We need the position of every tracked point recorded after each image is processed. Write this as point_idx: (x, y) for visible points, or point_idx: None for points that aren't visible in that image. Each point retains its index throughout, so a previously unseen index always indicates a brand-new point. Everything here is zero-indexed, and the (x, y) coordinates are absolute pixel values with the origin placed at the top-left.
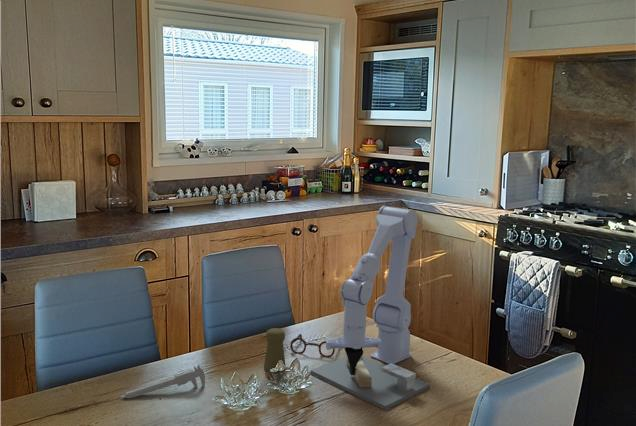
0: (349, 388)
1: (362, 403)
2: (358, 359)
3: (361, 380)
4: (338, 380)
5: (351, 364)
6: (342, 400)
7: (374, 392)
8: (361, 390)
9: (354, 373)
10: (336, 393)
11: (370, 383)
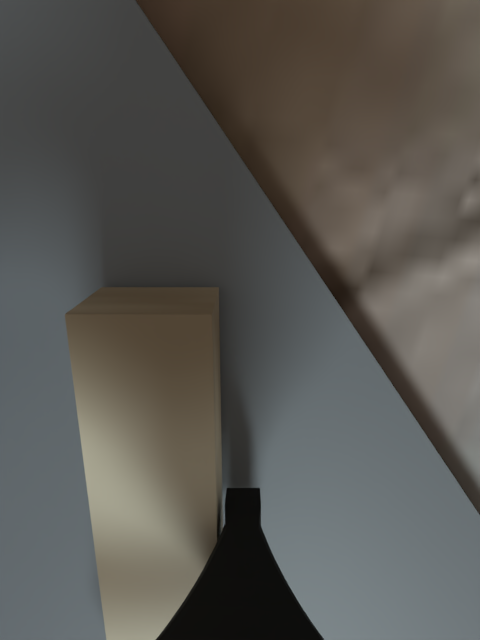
0: (321, 287)
1: (242, 34)
2: (178, 631)
3: (196, 308)
4: (379, 446)
5: (276, 571)
6: (424, 121)
7: (85, 181)
8: (211, 236)
9: (229, 495)
10: (436, 268)
11: (99, 296)
